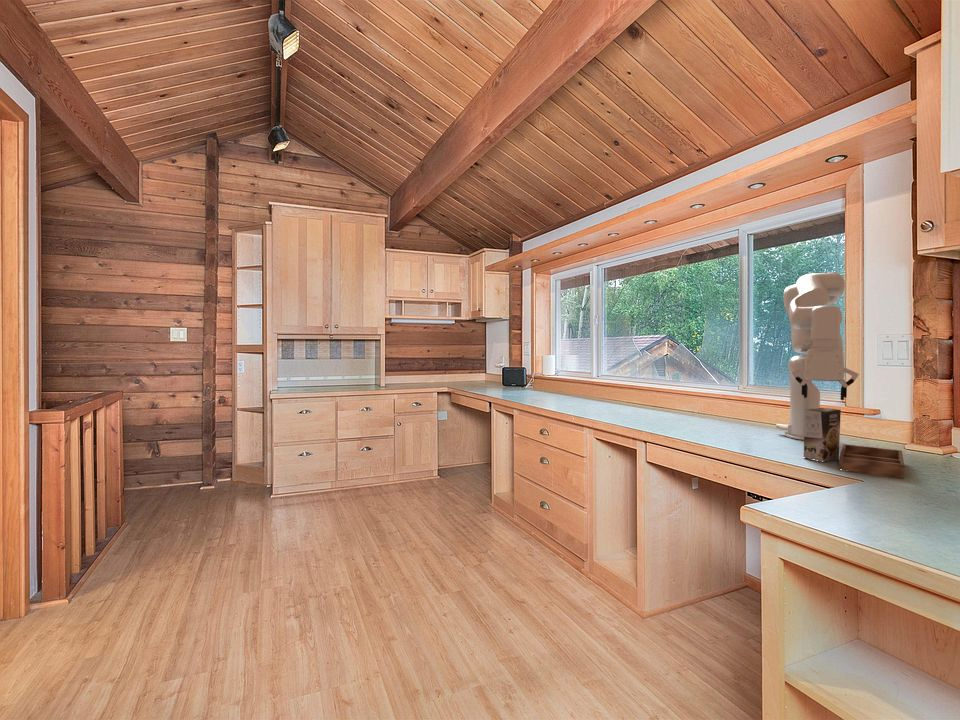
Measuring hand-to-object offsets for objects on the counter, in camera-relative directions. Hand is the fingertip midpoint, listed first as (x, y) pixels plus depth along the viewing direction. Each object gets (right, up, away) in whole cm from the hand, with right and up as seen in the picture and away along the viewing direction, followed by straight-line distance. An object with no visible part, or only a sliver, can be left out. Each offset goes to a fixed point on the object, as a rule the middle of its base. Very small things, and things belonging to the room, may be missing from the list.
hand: (823, 398), depth 157 cm
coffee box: (0, -20, +2) cm, 20 cm away
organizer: (+9, -20, -8) cm, 23 cm away
